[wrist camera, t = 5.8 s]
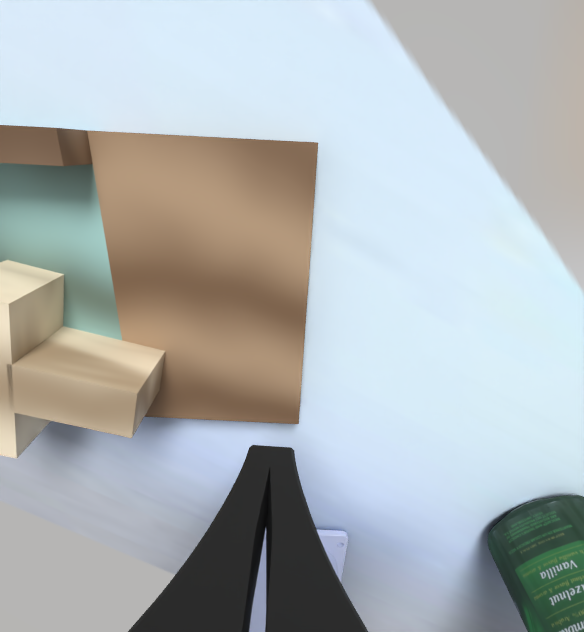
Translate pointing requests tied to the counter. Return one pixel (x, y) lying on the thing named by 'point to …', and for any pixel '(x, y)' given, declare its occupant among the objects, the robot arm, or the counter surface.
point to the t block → (64, 366)
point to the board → (174, 255)
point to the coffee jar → (544, 562)
